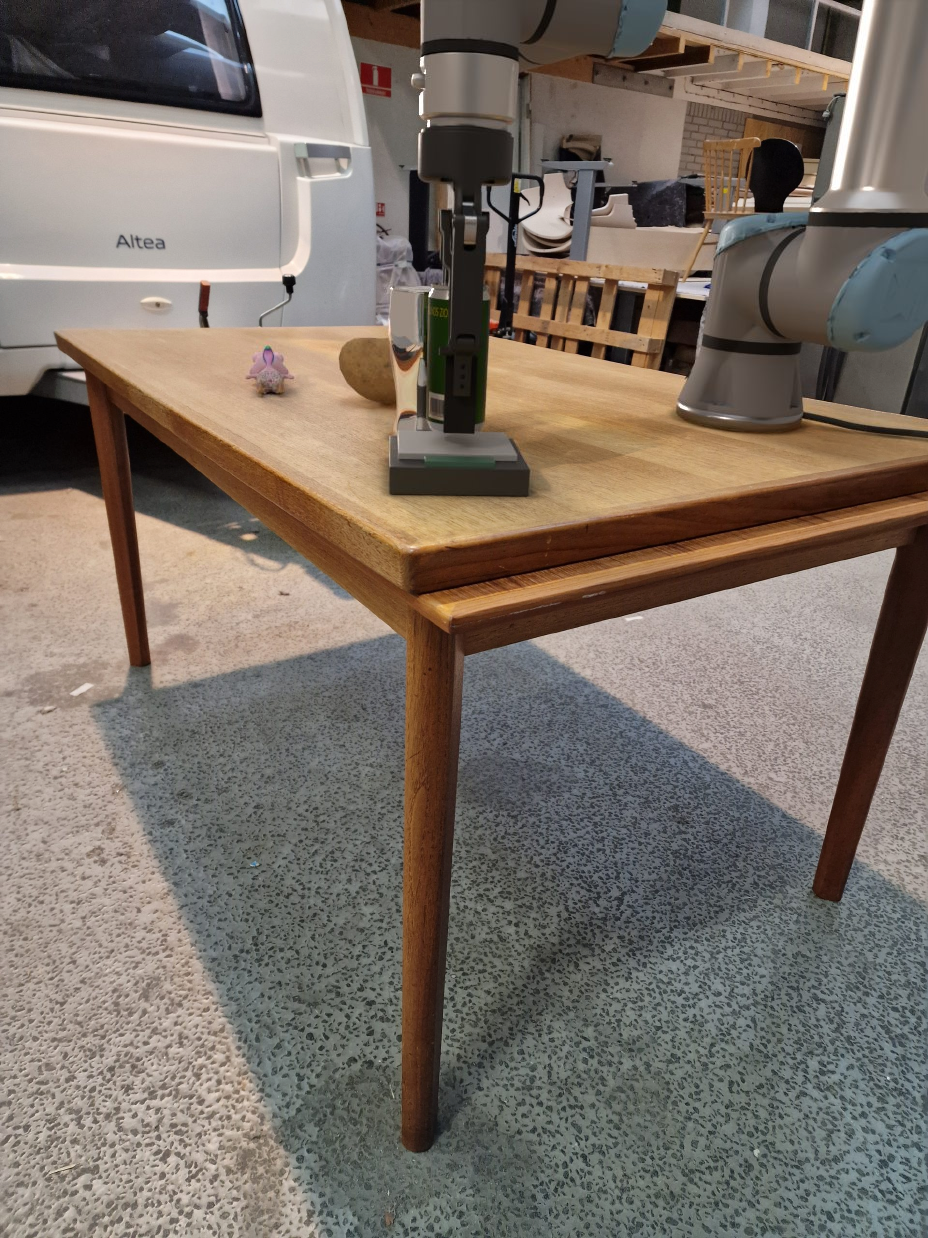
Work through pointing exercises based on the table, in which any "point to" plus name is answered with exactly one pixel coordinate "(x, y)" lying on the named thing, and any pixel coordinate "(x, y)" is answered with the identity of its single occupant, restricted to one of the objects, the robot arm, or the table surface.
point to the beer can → (436, 362)
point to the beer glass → (409, 355)
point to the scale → (456, 464)
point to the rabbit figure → (269, 371)
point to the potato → (369, 368)
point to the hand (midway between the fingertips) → (456, 423)
